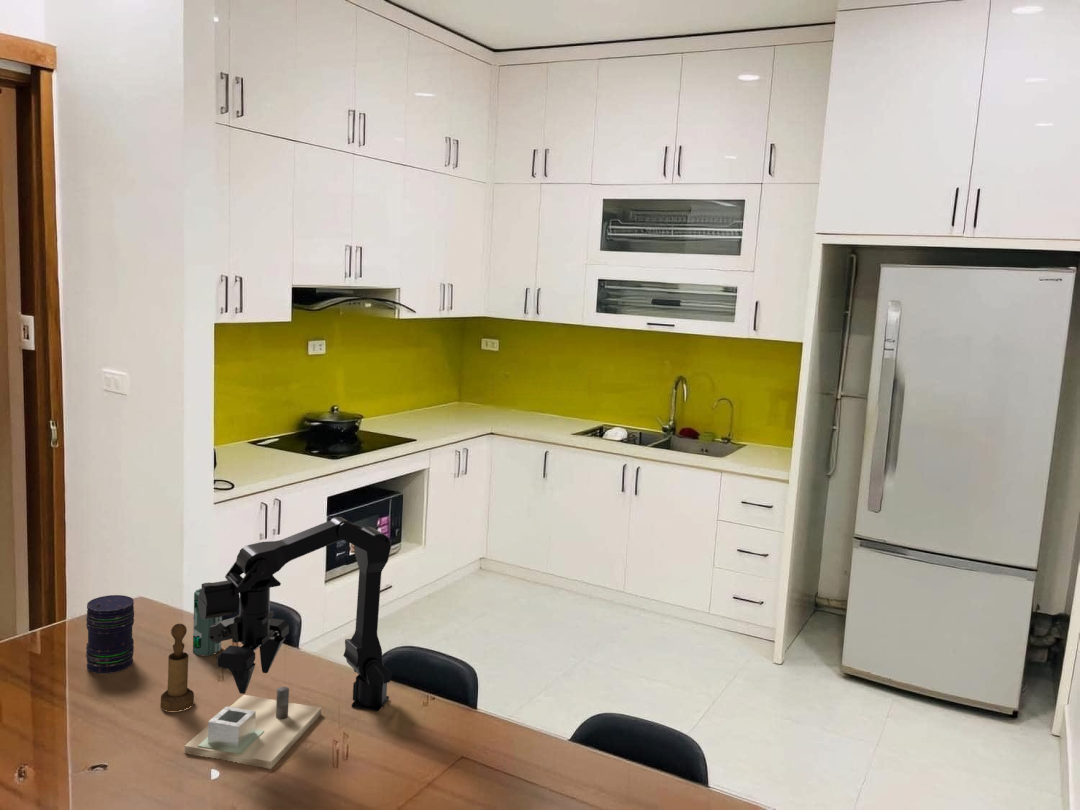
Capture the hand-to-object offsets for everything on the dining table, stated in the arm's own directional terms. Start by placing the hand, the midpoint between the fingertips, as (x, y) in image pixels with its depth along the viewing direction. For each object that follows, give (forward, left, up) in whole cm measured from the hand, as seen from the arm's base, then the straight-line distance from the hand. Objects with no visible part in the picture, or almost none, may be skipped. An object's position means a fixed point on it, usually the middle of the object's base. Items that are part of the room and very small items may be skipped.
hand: (254, 682), depth 174 cm
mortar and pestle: (+20, -5, -11) cm, 24 cm away
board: (-1, 0, -11) cm, 11 cm away
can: (+29, -31, -11) cm, 44 cm away
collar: (+1, +6, -9) cm, 11 cm away
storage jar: (+45, -17, -11) cm, 50 cm away
